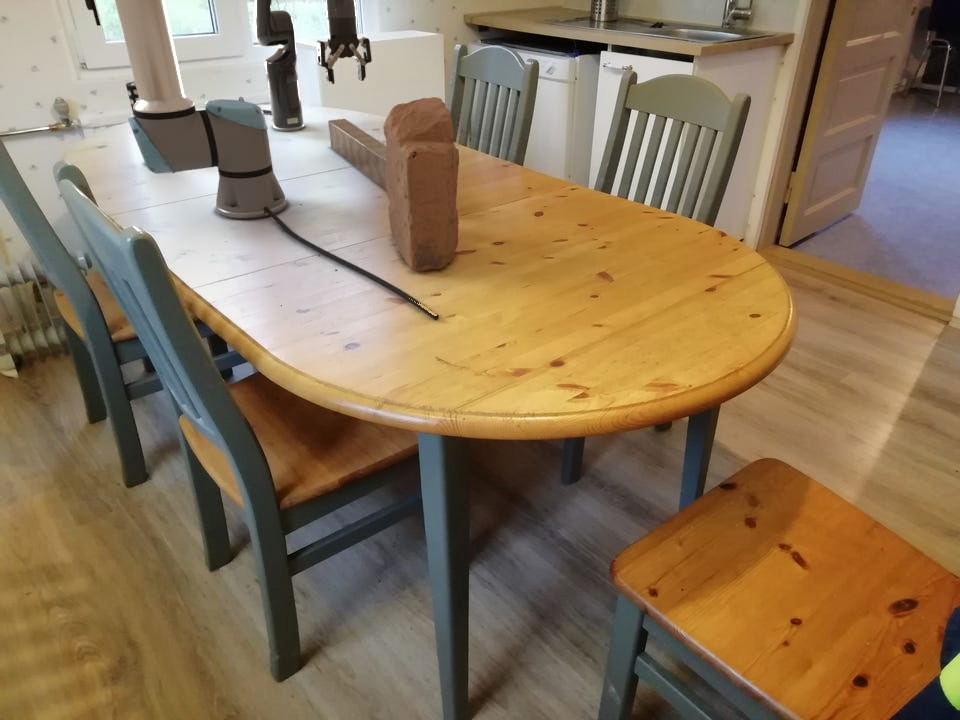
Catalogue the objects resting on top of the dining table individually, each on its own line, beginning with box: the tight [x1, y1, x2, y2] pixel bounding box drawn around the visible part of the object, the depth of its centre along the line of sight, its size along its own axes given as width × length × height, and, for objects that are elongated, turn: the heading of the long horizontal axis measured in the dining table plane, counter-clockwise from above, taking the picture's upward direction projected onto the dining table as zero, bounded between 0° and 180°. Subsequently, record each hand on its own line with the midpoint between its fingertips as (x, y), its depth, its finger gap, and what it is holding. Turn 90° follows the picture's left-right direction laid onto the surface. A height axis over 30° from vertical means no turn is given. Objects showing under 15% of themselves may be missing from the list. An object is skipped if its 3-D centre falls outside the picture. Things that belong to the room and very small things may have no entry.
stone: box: [383, 96, 460, 272], centre depth 131 cm, size 22×11×28 cm, turn 18°
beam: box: [327, 118, 387, 192], centre depth 176 cm, size 62×5×8 cm, turn 29°
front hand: (128, 23), depth 171 cm, fingers open, 13 cm apart
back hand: (346, 81), depth 184 cm, fingers open, 8 cm apart
